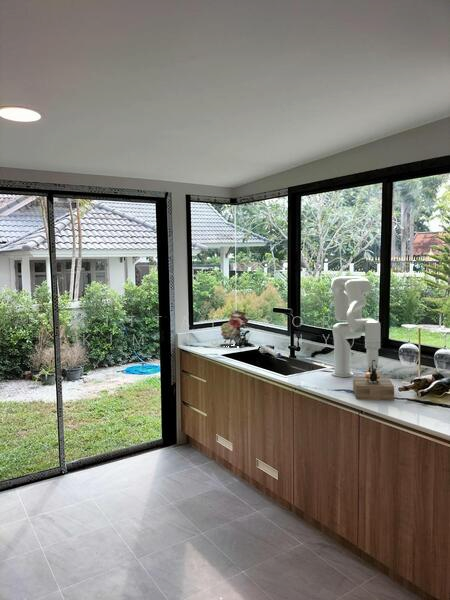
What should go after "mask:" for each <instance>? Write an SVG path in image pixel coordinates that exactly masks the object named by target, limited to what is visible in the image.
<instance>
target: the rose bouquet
mask: <svg viewBox="0 0 450 600" xmlns="http://www.w3.org/2000/svg"><path fill="white" fill-rule="evenodd" d="M229 316H230V318H229V321H227V322H225V323H223V324H222V325H221V326H220V328H221V329H220V330H221V335H220V336H222V338H223V339H224V341H223V342H224V343H220V344H219V347H220V346H227V347H228V346H229V348H228V349H231V348H237V346H241V347H239V348H246V346H247V345H249V346H251V347H255V344H253V343H251V342H249V339H247V337H248V336H246V335H245V336H244V337H242V333H241V332H243V330H241V329H252V327H250V326H248V322H249V321H250V320H251V318H246V316H247V313H246V312H243V311H240V310H232V311H231V312H230V314H229ZM227 340H228V341H229V343H227V342H226V341H227ZM232 341H233V342H234V343H236V345H237V346H236V345H235V346H231V345H233V343H232Z"/></svg>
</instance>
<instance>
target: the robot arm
mask: <svg viewBox="0 0 450 600" xmlns="http://www.w3.org/2000/svg"><path fill="white" fill-rule="evenodd" d="M371 283H372V282H371V281H370V280H369V279H367V278H366V277H363V276H360V275H349V276H337V277H334V278H333V279H332V280H331V283H330V284H331V287H330V288H331V291H332V294H333V298H334V301H333V302H334V304H333V305H334V307H333V308H334V317H335V320H336V321H339V323H338V322H337V323H335V324H333V327H332V336H333V357H334V358H333V361H334V365H333V366H334V370H333V371H332V372H331V375H332V377H333V376H334V377H338V378H348V377H349V378H350V377H353V376H354V373H353V372H352V371H351V366H352V365H351V364H352V363H351V344H350V343H349V341H348V340H349V339H359V338H361V336H362V335H363V334H364V348H365V349H366V353H365V355H366V358H365V361H366V362H365V364H366V367H367V368H368V370H367V371H371V373H370V381H377V372H378V370H377V369H378V368H379V349H381V322H380V321H378V320H375V319H374V318H363V312H362V308H364V307H365V306H366V304H367V300H366V297H365V294H370V293H371V291H372V284H371ZM343 321H344V322H343ZM345 321H346V322H345Z"/></svg>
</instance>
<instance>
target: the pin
mask: <svg viewBox="0 0 450 600" xmlns="http://www.w3.org/2000/svg"><path fill="white" fill-rule="evenodd" d="M370 373H371V371H368V370H367V371H365V374H364V375H365V377H366V378H368V379H369V382H377V381H370ZM380 373H381V372H379V371H377V379H379V378H380V377H381V374H380Z"/></svg>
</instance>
